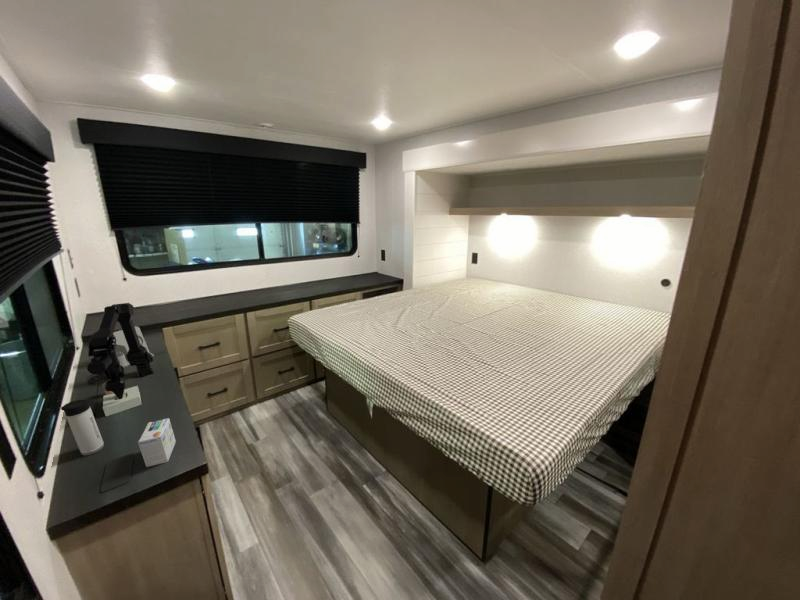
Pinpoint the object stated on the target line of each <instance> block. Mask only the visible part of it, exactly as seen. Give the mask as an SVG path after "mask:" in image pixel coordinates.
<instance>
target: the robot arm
mask: <svg viewBox="0 0 800 600" xmlns="http://www.w3.org/2000/svg"><path fill="white" fill-rule="evenodd" d="M103 310H104V313H103V316H102V319H101V323H100V325H99V328H98V330H96V331H95V332H94V333H93V334H92V335H91V337H90V338H89V339H90V340H89V341H88V354H87V355H88V358H89V357H91V359H90V362H89V363H88V365H87V366H86V369H87V372H89V375H88V376H86V378H85V382H86V383H87V385H89V386H91V387H94V386H95V385H96V384H99V383H100V382H102V381H105V382H106V383H105V382H104V383H105V390H106V391H112V392H113V393H114V394H115V395H116V396H117V398H118V399H122V398H123V393H124V390H125V389H126V381H125V378H124V377H125V367H123V366H121V365H120V362H119V361H118V358H117V355H116V352H117V351H116V348H117V347H116V346H117V345H116V337H115V336H114V335H113V333H114V332H115V329H116V327H117V323H118V324H120V328H121V330H122V331H123V333H124V336H125V339H126V342H127V344H128V347H129V351H128V353H127V352H126V356H125V357H126V358H127V360H128V362H129V364H130V365H129V366H130V367H133V366H135V368H136V370H137V372H136V374H137V378H141V377H144V376H148V375H152V374H154V369H153V367H151V366H152V365H151V363H152V362H154V357H153V355H154V354H153V355H151V354H150V353H151V352H150V351H149V352H150V353H149V352H148V351H147V349H146V348H145V347H144V346H142V345H141V344H140V341H139V338H138V336H137V333H136V330H135V325H134V322H133V317H134V314H135V307H134V305H133V304H131V303H129V302H125V303H124V302H123V303H114V304H112V305H107V306H105V307H104V309H103Z"/></svg>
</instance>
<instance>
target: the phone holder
mask: <svg viewBox="0 0 800 600" xmlns="http://www.w3.org/2000/svg"><path fill="white" fill-rule="evenodd" d="M134 327H135V330H136V333H137V336H138V338H139V341H140V344H141V345H142V346H144V347H145V348H146V349H147V351H148V352H149V353H150V354H151V355H153V356H154V357H155V355H154V354H153V353H152V352H150V350H149V348H148V347H149V346H148V345H147V342H146V340H145V337H144V336H143V333H142V331H141V328H140V327H139V326H135V325H134ZM113 335H114V336H115V337H116V346H119V347H120V346H121V347H124V348H125V351H126V354H127V353H128V351H129V347H128V344H127V342H126V339H125V336H124V333H123V331H122V329H120V330H118V331H114V333H113ZM115 352H116V355H117V358H118V361H119V362H120V365H121V366H123V368H125V366H126V367H129V366H130V364H129V362H128V360H126V358H127V357H126V356H125V354H124V353H123V352H121V351H115ZM128 365H129V366H128Z"/></svg>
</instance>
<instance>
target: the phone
mask: <svg viewBox="0 0 800 600" xmlns="http://www.w3.org/2000/svg"><path fill="white" fill-rule="evenodd" d="M134 458H135V454H134V453H128V454H125V455H122V456H120V457H117V458H114V459H111V460H109V461H108V462H107V463H106V465H105V470H104V474H103V476H102V481H101V485H100V494H103V493H107V492H109V491H111V490H114V489H117V488H119V487H122V486H125V485H127V484H129V482H131V477H132V471H133V465H134Z"/></svg>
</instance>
